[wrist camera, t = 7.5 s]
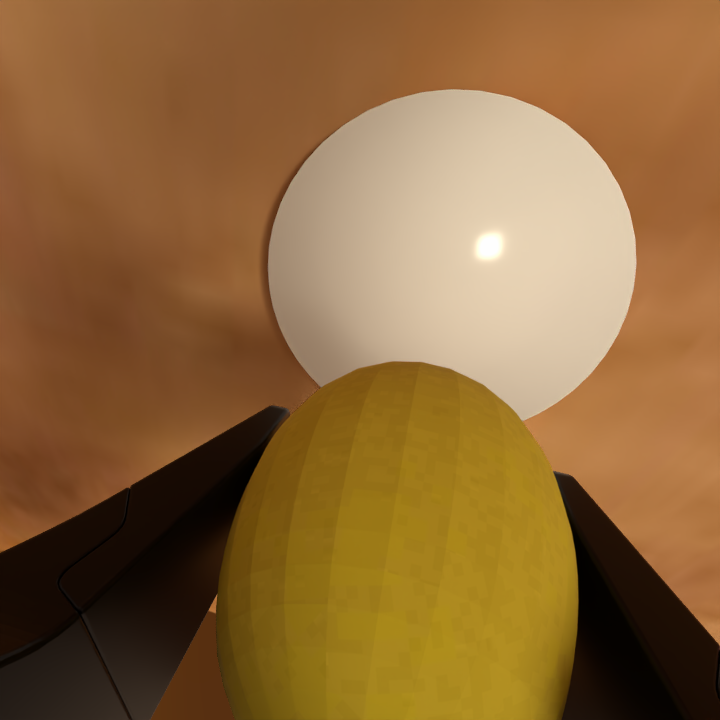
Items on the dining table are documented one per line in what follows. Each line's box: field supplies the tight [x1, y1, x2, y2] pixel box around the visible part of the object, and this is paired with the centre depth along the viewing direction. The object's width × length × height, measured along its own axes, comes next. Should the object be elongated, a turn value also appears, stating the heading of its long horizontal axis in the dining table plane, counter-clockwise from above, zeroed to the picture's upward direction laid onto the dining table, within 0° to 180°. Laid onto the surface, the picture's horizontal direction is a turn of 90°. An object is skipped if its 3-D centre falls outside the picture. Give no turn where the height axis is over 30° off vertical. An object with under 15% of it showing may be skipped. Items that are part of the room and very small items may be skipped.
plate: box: [268, 89, 636, 421], centre depth 17 cm, size 14×14×1 cm
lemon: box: [216, 361, 578, 720], centre depth 7 cm, size 6×6×8 cm
